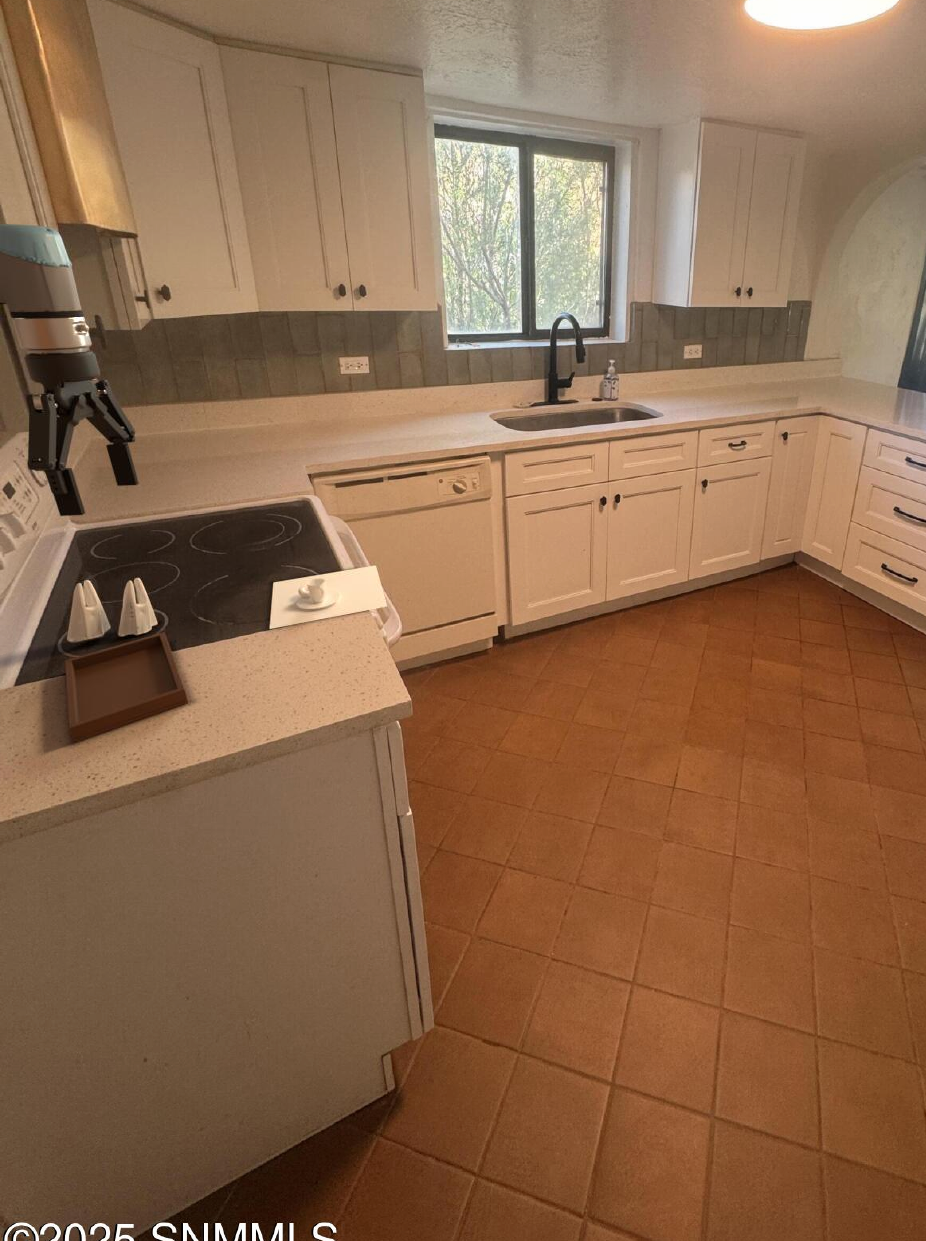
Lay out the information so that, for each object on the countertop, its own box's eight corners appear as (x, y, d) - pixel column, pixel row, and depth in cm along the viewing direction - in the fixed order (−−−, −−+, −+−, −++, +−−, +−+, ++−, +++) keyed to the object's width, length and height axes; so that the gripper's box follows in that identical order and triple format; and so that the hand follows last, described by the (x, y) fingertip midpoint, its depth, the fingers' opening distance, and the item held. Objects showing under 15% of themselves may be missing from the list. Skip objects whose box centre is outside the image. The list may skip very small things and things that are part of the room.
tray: (69, 673, 98) (64, 660, 97) (167, 644, 106) (164, 631, 105) (74, 742, 83) (69, 728, 82) (188, 702, 91) (184, 689, 90)
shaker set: (70, 652, 103) (49, 592, 99) (74, 640, 107) (54, 582, 103) (156, 632, 109) (140, 575, 105) (157, 621, 112) (142, 566, 108)
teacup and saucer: (296, 594, 122) (292, 575, 121) (339, 586, 125) (336, 568, 124) (296, 614, 115) (292, 595, 113) (342, 606, 118) (339, 586, 116)
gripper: (24, 360, 73) (76, 528, 81) (138, 342, 96) (171, 473, 104) (-48, 361, 72) (12, 531, 80) (85, 342, 95) (122, 475, 103)
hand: (102, 499), depth 92 cm, fingers open, 13 cm apart
